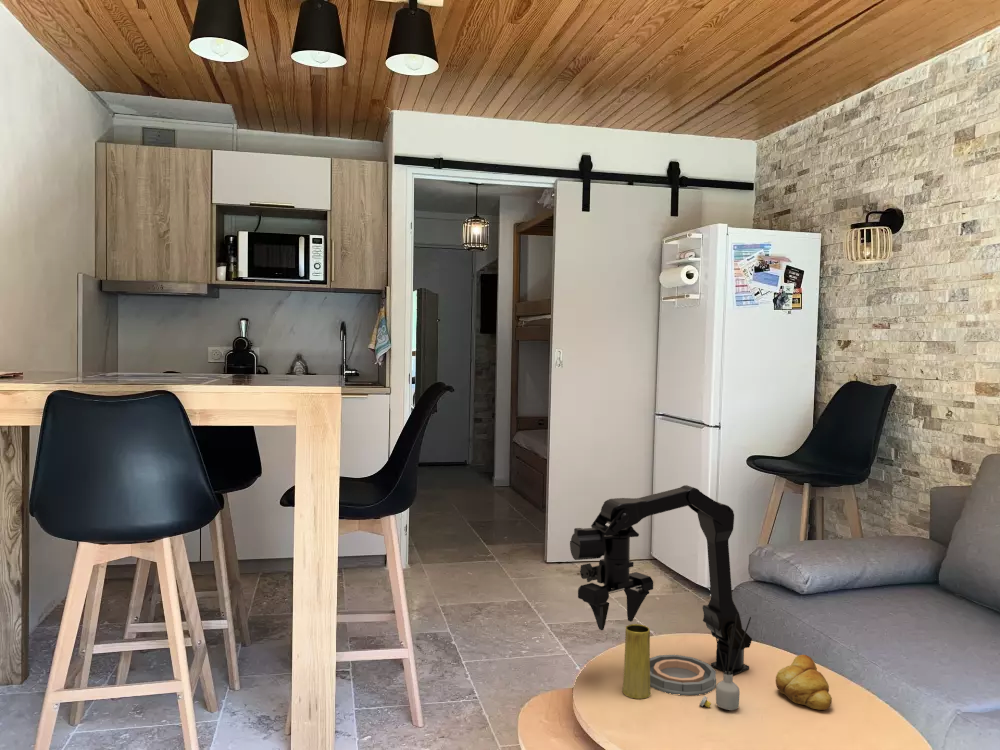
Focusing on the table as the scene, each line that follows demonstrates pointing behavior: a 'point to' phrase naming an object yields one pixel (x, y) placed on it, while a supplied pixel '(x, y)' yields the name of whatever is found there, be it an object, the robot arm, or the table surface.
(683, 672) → the grooved tray
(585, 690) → the table surface
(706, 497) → the robot arm
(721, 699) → the reed diffuser
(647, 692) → the vase
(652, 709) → the table surface
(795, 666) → the bread roll
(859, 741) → the table surface
